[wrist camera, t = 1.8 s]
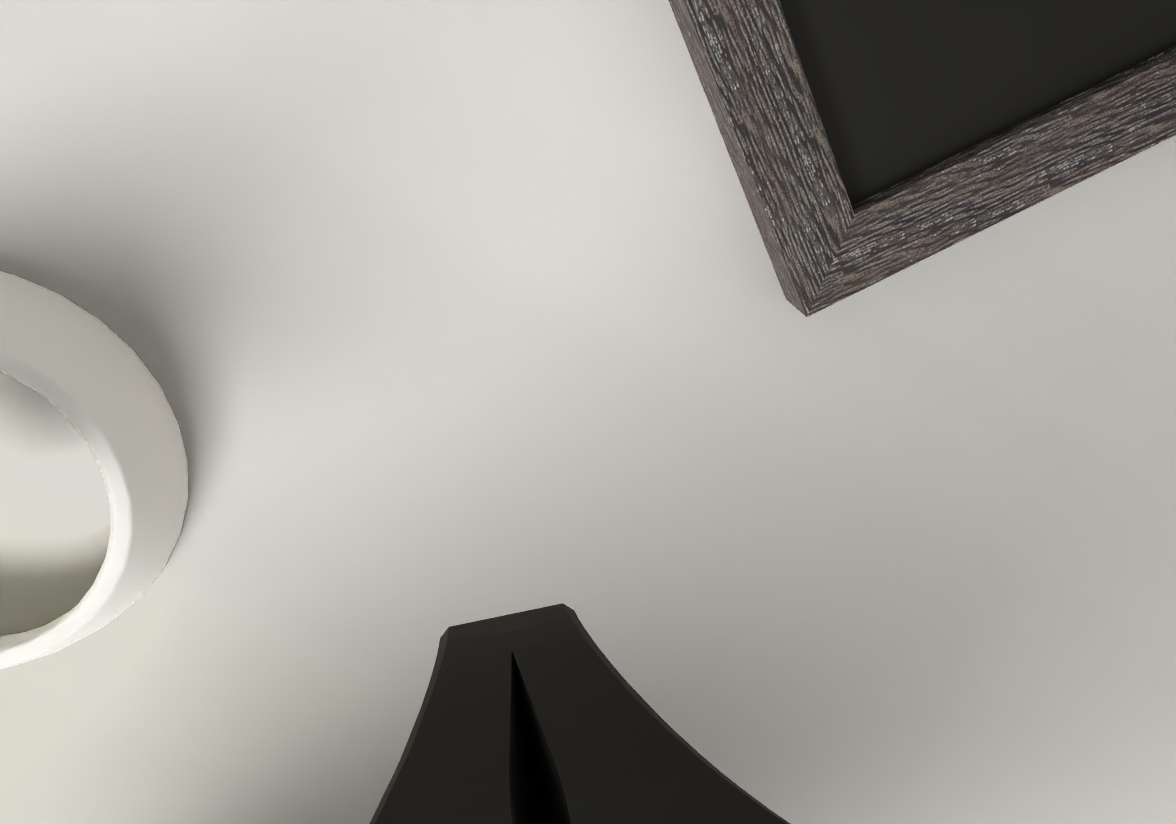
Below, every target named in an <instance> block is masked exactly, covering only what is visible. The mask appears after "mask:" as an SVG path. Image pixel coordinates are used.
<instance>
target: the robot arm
mask: <svg viewBox="0 0 1176 824" xmlns="http://www.w3.org/2000/svg"><path fill="white" fill-rule="evenodd" d="M370 824H790V823H789V822H787V821H786V820H784V819H783V818H781V817H780V816H778V815H777V814H775V813H774V812H772V811H771V810H770V809H768V808H767V807H766V806H764V805H763V804H762V803H760V802H759V801H758V800H756V799H755V798H754V797H752V796H751V795H750V794H748V793H747V792H746V791H744V790H743V789H742V788H740V787H739V786H738V785H736V784H735V783H734V782H733V781H731V780H730V779H729V778H728V777H726V776H725V775H724V774H723V773H721V772H720V771H719V770H718V769H717V768H715V767H714V766H713V765H712V764H711V763H710V762H708V761H707V760H706V759H705V758H704V757H703V756H701V755H700V754H699V753H698V752H697V751H696V750H695V749H694V748H693V747H692V746H690V745H689V744H688V743H687V742H686V741H685V740H684V739H683V738H682V737H681V736H679V735H678V734H677V733H676V732H675V731H674V730H673V729H672V728H671V727H670V726H669V725H668V724H667V723H666V722H665V721H664V720H663V719H662V718H661V717H660V716H659V715H658V714H657V713H656V712H655V711H654V710H653V709H652V708H651V707H650V706H649V705H648V704H647V703H646V702H645V701H644V699H643V698H642V697H641V696H640V695H639V694H638V693H637V692H636V691H635V690H634V689H633V688H632V687H631V686H630V685H629V684H628V683H627V681H626V680H625V679H624V678H623V677H622V676H621V675H620V673H619V672H618V671H617V670H616V669H615V668H614V666H613V665H612V664H611V663H610V661H609V660H608V659H607V658H606V656H605V655H604V654H603V653H602V652H601V650H600V649H599V648H598V646H597V645H596V644H595V642H594V641H593V640H592V638H591V637H590V635H589V634H588V633H587V631H586V630H585V628H584V627H583V625H582V624H581V622H580V620H579V619H578V617H577V615H576V613H575V611H574V610H572V609H571V608H569V607H568V606H566V605H564V604H558V605H553V606H548V607H543V608H538V609H534V610H529V611H524V612H519V613H514V614H509V615H505V616H500V617H495V618H490V619H485V620H480V621H476V622H471V623H466V624H461V625H456V626H452V627H449V628H448V629H447V630H446V632H445V633H444V634H443V635H442V637H441V638H440V643H439V649H438V654H437V658H436V662H435V666H434V669H433V673H432V676H431V679H430V682H429V686H428V689H427V692H426V694H425V697H424V700H423V703H422V706H421V709H420V712H419V714H418V717H417V719H416V722H415V724H414V727H413V729H412V732H411V734H410V737H409V739H408V742H407V744H406V747H405V749H404V752H403V754H402V757H401V759H400V762H399V764H398V766H397V768H396V771H395V773H394V775H393V777H392V779H391V781H390V783H389V785H388V787H387V789H386V791H385V793H384V795H383V797H382V799H381V802H380V804H379V806H378V808H377V810H376V812H375V814H374V816H373V818H372V820H371V822H370Z"/></svg>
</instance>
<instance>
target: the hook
mask: <svg viewBox="0 0 1176 824" xmlns="http://www.w3.org/2000/svg"><path fill="white" fill-rule="evenodd" d="M0 371H1V372H4V373H6V374H7V375H9V376H11V377H12V378H14V379H16V380H17V381H19V382H21V383H22V384H24V385H26V386H27V387H29V388H31V389H32V390H34V391H36V392H37V393H38V394H40V395H41V396H42V397H43V398H44V399H45V400H47V401H48V402H49V403H50V404H51V405H52V406H54V407H55V408H56V409H57V410H58V411H59V412H61V413H62V414H63V415H64V416H65V417H66V418H67V419H68V421H69V422H70V423H71V424H72V426H73V427H74V428H75V429H76V431H77V432H78V433H79V434H80V436H81V437H82V438H83V439H84V441H85V442H86V443H87V445H88V447H89V449H90V451H91V453H92V454H93V456H94V458H95V460H96V462H97V464H98V466H99V468H100V470H101V471H102V475H103V479H104V482H105V486H106V489H107V493H108V496H109V500H110V518H111V533H110V538H109V543H108V548H107V553H106V558H105V560H104V563H103V565H102V567H101V569H100V571H99V573H98V576H97V578H96V580H95V582H94V584H93V585H92V587H91V588H90V589H89V590H88V592H87V593H86V594H85V596H84V597H83V598H82V599H81V601H80V602H79V603H78V605H77V606H75V607H74V608H73V609H72V610H71V611H69V612H68V613H66V614H64V615H63V616H61V617H59V618H57V619H55V620H53V621H52V622H50V623H48V624H46V625H44V626H41V627H38V628H35V629H32V630H29V631H26V632H23V633H17V634H10V635H4V636H0V669H3V668H7V667H11V666H15V665H19V664H22V663H25V662H28V661H31V660H34V659H37V658H40V657H43V656H46V655H49V654H52V653H55V652H57V651H59V650H61V649H63V648H65V647H67V646H69V645H71V644H72V643H74V642H76V641H78V640H80V639H82V638H84V637H85V636H87V635H89V634H91V633H93V632H95V631H96V630H98V629H100V628H102V627H104V626H105V625H106V624H108V623H109V622H110V621H112V620H113V619H114V618H115V617H117V616H118V615H119V614H120V613H121V612H123V611H124V610H125V609H126V608H127V607H129V606H130V605H131V604H132V603H134V602H135V601H136V600H137V599H138V598H140V597H141V596H142V595H143V594H144V592H145V591H146V590H147V589H148V587H149V586H150V585H151V584H152V582H153V581H154V580H155V579H156V577H157V576H158V575H159V574H160V572H161V571H162V570H163V569H164V567H165V565H166V563H167V561H168V559H169V557H170V555H171V553H172V551H173V549H174V547H175V545H176V542H177V540H178V538H179V536H180V534H181V529H182V525H183V520H184V516H185V511H186V506H187V502H188V462H187V457H186V453H185V449H184V445H183V441H182V436H181V432H180V428H179V424H178V422H177V420H176V418H175V415H174V413H173V411H172V409H171V407H170V405H169V403H168V401H167V399H166V397H165V395H164V393H163V391H162V389H161V386H160V385H159V384H158V382H157V381H156V380H155V378H154V377H153V376H152V374H151V373H150V372H149V370H148V369H147V368H146V366H145V365H144V364H143V362H142V361H141V360H140V358H139V357H138V356H137V355H136V353H135V352H134V351H133V350H132V349H131V348H130V347H129V346H128V345H127V344H126V343H124V342H123V341H122V340H121V339H120V338H119V337H118V336H117V335H116V334H115V333H114V332H112V331H111V330H110V329H109V328H108V327H107V326H106V325H105V324H104V323H103V322H102V321H100V320H99V319H98V318H96V317H94V316H93V315H91V314H90V313H88V312H87V311H85V310H83V309H82V308H80V307H79V306H77V305H76V304H74V303H73V302H71V301H69V300H68V299H66V298H65V297H63V296H62V295H60V294H58V293H56V292H53V291H51V290H49V289H46V288H44V287H42V286H39V285H37V284H35V283H32V282H30V281H27V280H25V279H23V278H20V277H18V276H16V275H13V274H9V273H5V272H1V271H0Z"/></svg>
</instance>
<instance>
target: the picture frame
mask: <svg viewBox="0 0 1176 824" xmlns="http://www.w3.org/2000/svg"><path fill="white" fill-rule="evenodd" d="M669 2H670V5H671V7H672V10H673V12H674V15H675V18H676V20H677V23H678V25H679V28H680V30H681V33H682V35H683V38H684V40H685V43H686V45H687V48H688V51H689V53H690V56H691V58H692V61H693V63H694V66H695V68H696V71H697V73H698V76H699V79H700V81H701V84H702V86H703V89H704V91H705V94H706V96H707V99H708V101H709V104H710V107H711V109H712V112H713V114H714V117H715V119H716V122H717V124H718V127H719V129H720V132H721V135H722V137H723V140H724V142H725V145H726V147H727V150H728V152H729V155H730V157H731V160H732V163H733V165H734V168H735V170H736V173H737V175H738V178H739V180H740V183H741V185H742V188H743V191H744V193H745V196H746V198H747V201H748V203H749V206H750V208H751V211H752V213H753V216H754V219H755V221H756V224H757V226H758V229H759V231H760V234H761V236H762V239H763V241H764V244H765V247H766V249H767V252H768V254H769V257H770V259H771V262H772V264H773V267H774V269H775V272H776V274H777V277H778V280H779V282H780V285H781V287H782V290H783V292H784V295H785V297H786V300H788V301H789V302H790V303H791V304H792V305H793V306H795V307H796V308H797V309H798V310H799V311H800V312H802V313H803V314H804V315H805V316H806V317H808V316H810V315H812V314H814V313H816V312H818V311H820V310H822V309H824V308H826V307H828V306H830V305H832V304H834V303H836V302H838V301H840V300H842V299H844V298H846V297H848V296H850V295H852V294H854V293H856V292H859V291H861V290H863V289H865V288H867V287H869V286H871V285H873V284H875V283H877V282H879V281H881V280H883V279H885V278H887V277H889V276H891V275H893V274H895V273H897V272H899V271H901V270H903V269H905V268H907V267H909V266H911V265H913V264H915V263H917V262H919V261H921V260H923V259H925V258H927V257H929V256H931V255H933V254H935V253H937V252H939V251H941V250H944V249H946V248H948V247H950V246H952V245H954V244H956V243H958V242H960V241H962V240H964V239H966V238H968V237H970V236H972V235H974V234H976V233H978V232H980V231H982V230H984V229H986V228H988V227H990V226H992V225H994V224H996V223H998V222H1000V221H1002V220H1004V219H1006V218H1008V217H1010V216H1012V215H1014V214H1016V213H1018V212H1020V211H1022V210H1024V209H1026V208H1029V207H1031V206H1033V205H1035V204H1037V203H1039V202H1041V201H1043V200H1045V199H1047V198H1049V197H1051V196H1053V195H1055V194H1057V193H1059V192H1061V191H1063V190H1065V189H1067V188H1069V187H1071V186H1073V185H1075V184H1077V183H1079V182H1081V181H1083V180H1085V179H1087V178H1089V177H1091V176H1093V175H1095V174H1097V173H1099V172H1101V171H1103V170H1105V169H1107V168H1109V167H1112V166H1114V165H1116V164H1118V163H1120V162H1122V161H1124V160H1126V159H1128V158H1130V157H1132V156H1134V155H1136V154H1138V153H1140V152H1142V151H1144V150H1146V149H1148V148H1150V147H1152V146H1154V145H1156V144H1158V143H1160V142H1162V141H1164V140H1166V139H1168V138H1170V137H1172V136H1174V135H1176V0H669Z"/></svg>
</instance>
